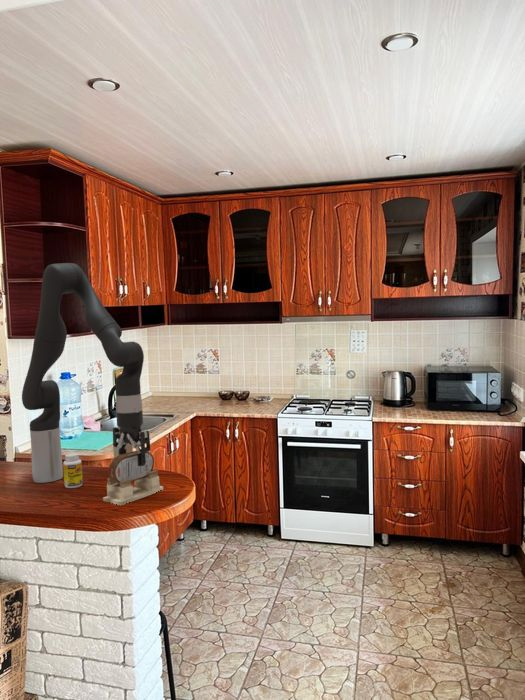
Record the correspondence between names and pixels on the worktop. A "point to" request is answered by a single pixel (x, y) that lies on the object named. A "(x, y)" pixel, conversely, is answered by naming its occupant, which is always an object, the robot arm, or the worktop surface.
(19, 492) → the worktop surface
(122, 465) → the tin
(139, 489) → the cradle
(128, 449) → the box
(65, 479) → the supplement bottle
